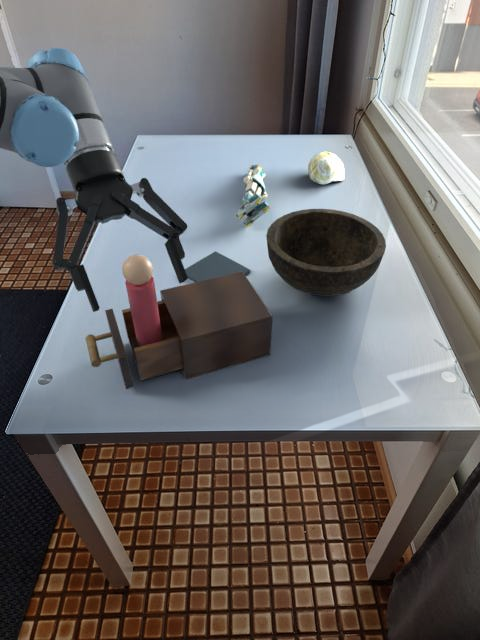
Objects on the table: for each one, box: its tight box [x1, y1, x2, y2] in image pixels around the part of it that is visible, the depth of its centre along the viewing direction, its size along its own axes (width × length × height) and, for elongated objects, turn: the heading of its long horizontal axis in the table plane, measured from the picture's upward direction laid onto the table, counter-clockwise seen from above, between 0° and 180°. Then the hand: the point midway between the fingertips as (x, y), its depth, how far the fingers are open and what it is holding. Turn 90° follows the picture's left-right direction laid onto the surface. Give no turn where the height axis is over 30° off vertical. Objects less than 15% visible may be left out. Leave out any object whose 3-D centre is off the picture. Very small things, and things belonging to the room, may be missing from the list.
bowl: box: [265, 208, 387, 297], centre depth 90 cm, size 22×22×10 cm
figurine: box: [235, 164, 270, 228], centre depth 117 cm, size 7×8×30 cm
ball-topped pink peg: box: [121, 254, 165, 348], centre depth 71 cm, size 5×5×18 cm
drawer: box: [85, 300, 184, 390], centre depth 75 cm, size 17×11×7 cm, turn 112°
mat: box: [184, 251, 252, 283], centre depth 95 cm, size 10×10×1 cm
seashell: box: [307, 151, 345, 185], centre depth 125 cm, size 10×10×10 cm
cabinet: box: [159, 271, 274, 380], centre depth 78 cm, size 15×13×9 cm
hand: (141, 295), depth 70 cm, fingers open, 13 cm apart
